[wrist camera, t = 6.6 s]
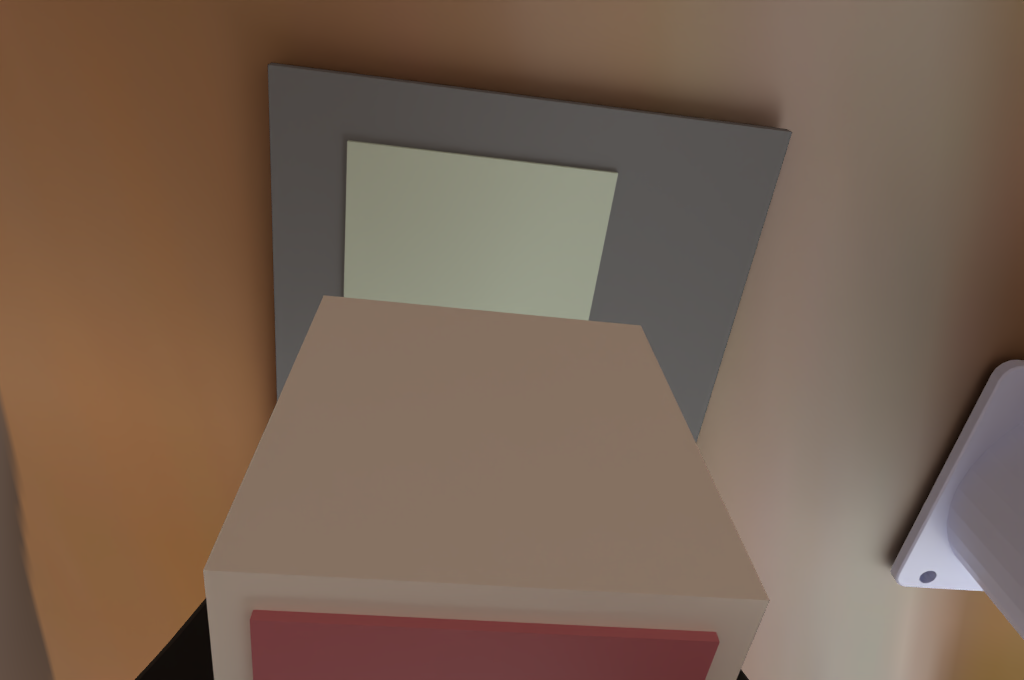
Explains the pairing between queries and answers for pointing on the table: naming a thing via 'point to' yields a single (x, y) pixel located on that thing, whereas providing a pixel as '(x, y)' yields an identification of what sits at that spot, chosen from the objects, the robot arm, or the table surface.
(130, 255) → the table surface
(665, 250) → the mat
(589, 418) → the card box
